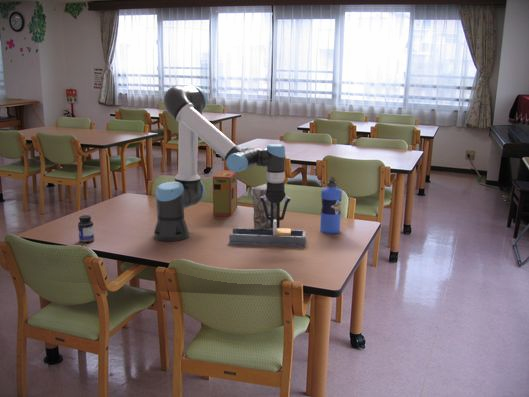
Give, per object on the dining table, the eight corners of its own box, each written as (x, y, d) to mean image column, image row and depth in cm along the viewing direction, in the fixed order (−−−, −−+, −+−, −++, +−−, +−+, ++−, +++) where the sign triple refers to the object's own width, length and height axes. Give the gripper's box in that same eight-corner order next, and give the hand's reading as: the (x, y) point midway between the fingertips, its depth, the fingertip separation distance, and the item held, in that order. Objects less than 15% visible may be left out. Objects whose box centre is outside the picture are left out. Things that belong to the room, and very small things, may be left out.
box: (220, 207, 285) (220, 170, 280) (237, 207, 284) (237, 170, 279) (213, 215, 269) (212, 176, 264) (230, 216, 268) (230, 177, 263)
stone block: (265, 232, 243) (265, 189, 238) (251, 229, 247) (251, 187, 242) (278, 224, 255) (279, 183, 250) (265, 222, 258) (265, 182, 253)
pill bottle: (78, 240, 231) (76, 215, 228) (93, 238, 233) (91, 213, 230) (80, 244, 225) (78, 219, 223) (95, 242, 228) (93, 217, 225)
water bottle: (315, 230, 246) (317, 177, 240) (327, 226, 252) (329, 174, 246) (332, 235, 240) (334, 180, 233) (344, 230, 246) (346, 177, 240)
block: (276, 241, 227) (276, 232, 226) (277, 236, 233) (277, 228, 232) (290, 241, 227) (290, 232, 226) (290, 237, 233) (291, 228, 232)
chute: (229, 244, 227) (229, 235, 226) (233, 235, 238) (233, 226, 237) (304, 247, 224) (305, 238, 223) (305, 238, 235) (305, 229, 234)
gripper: (259, 182, 221) (258, 237, 227) (290, 183, 220) (289, 238, 226) (261, 179, 228) (260, 231, 234) (291, 179, 227) (290, 233, 233)
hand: (274, 235), depth 230 cm, fingers closed
